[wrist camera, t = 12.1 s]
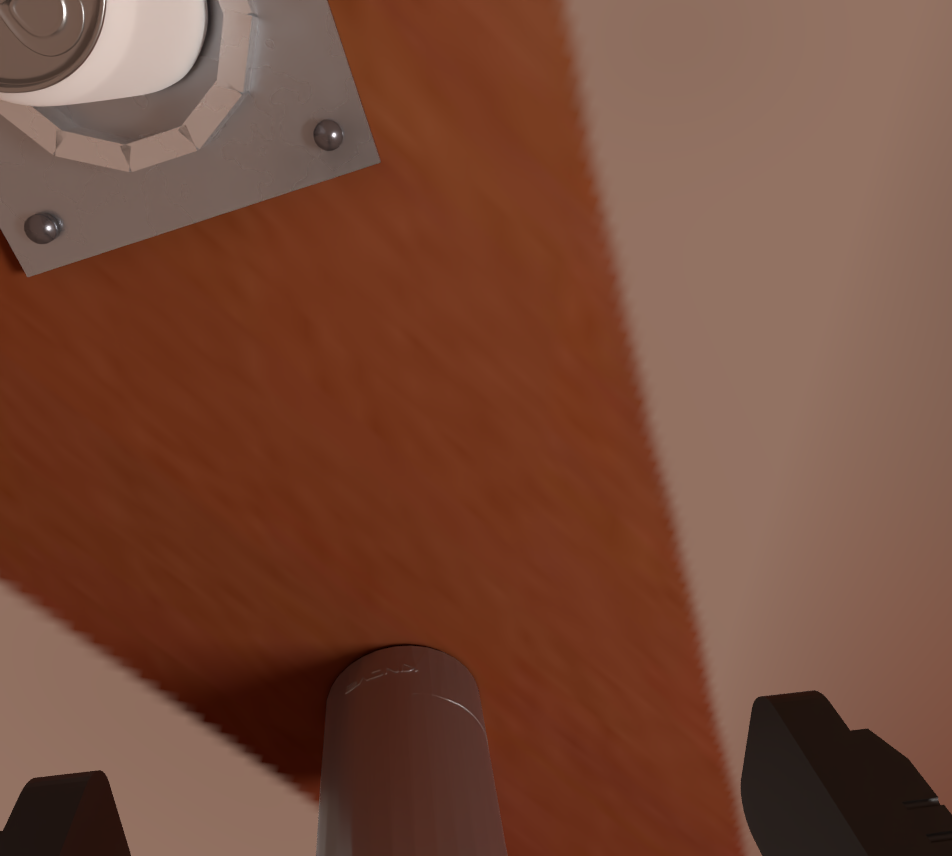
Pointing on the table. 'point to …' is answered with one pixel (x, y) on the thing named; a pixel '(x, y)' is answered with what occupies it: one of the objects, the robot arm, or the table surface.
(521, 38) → the table surface
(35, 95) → the can
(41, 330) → the table surface
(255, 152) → the duct flange
